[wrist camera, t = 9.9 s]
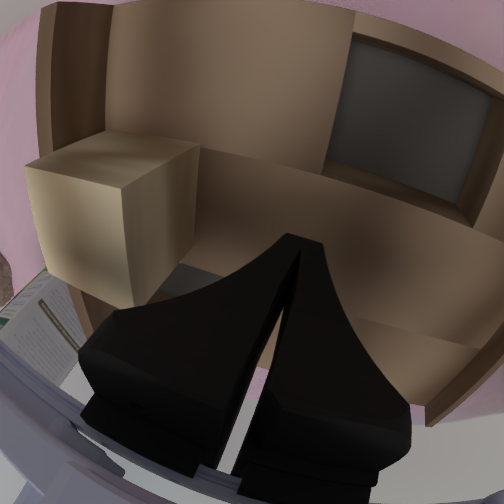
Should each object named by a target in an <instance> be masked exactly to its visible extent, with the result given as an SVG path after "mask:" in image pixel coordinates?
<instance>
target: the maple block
mask: <svg viewBox="0 0 504 504" xmlns="http://www.w3.org/2000/svg"><path fill="white" fill-rule="evenodd" d="M199 155H200V143H195V142H189V141H183V140H177V139H171V138H165V137H159V136H152V135H145V134H138V133H130V132H122V131H113V130H106V131H103V132H100V133H98V134H95V135H92V136H90V137H87V138H85V139H82V140H80V141H77V142H75V143H72V144H70V145H68V146H65V147H63V148H61V149H59V150H56V151H54V152H52V153H50V154H47V155H45V156H43V157H41V158H39V159H37V160H35V161H33V162H31V163H29V164H27V165H25V166H24V171H25V177H26V183H27V189H28V194H29V199H30V204H31V209H32V214H33V218H34V222H35V226H36V231H37V234H38V238H39V242H40V246H41V249H42V253H43V256H44V260H45V263H46V266H47V269H48V273H50V274H52V275H54V276H55V277H57V278H59V279H61V280H63V281H65V282H67V283H68V284H70V285H72V286H74V287H76V288H78V289H80V290H82V291H84V292H86V293H88V294H90V295H92V296H94V297H96V298H98V299H100V300H102V301H104V302H106V303H108V304H110V305H113V306H115V307H117V308H119V309H126V308H131V307H137V306H142V305H145V304H146V303H147V302H148V300H149V299H150V298H151V297H152V295H153V294H154V293H155V292H156V291H157V289H158V288H159V287H160V286H161V284H162V283H163V282H164V281H165V280H166V278H167V277H168V276H169V275H170V273H171V272H172V271H173V270H174V269H175V267H176V266H177V265H178V264H179V263H180V261H181V260H182V259H183V258H184V257H185V255H186V254H187V253H188V252H189V251H190V250H191V248H192V247H193V246H194V227H195V210H196V194H197V180H198V167H199Z"/></svg>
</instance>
